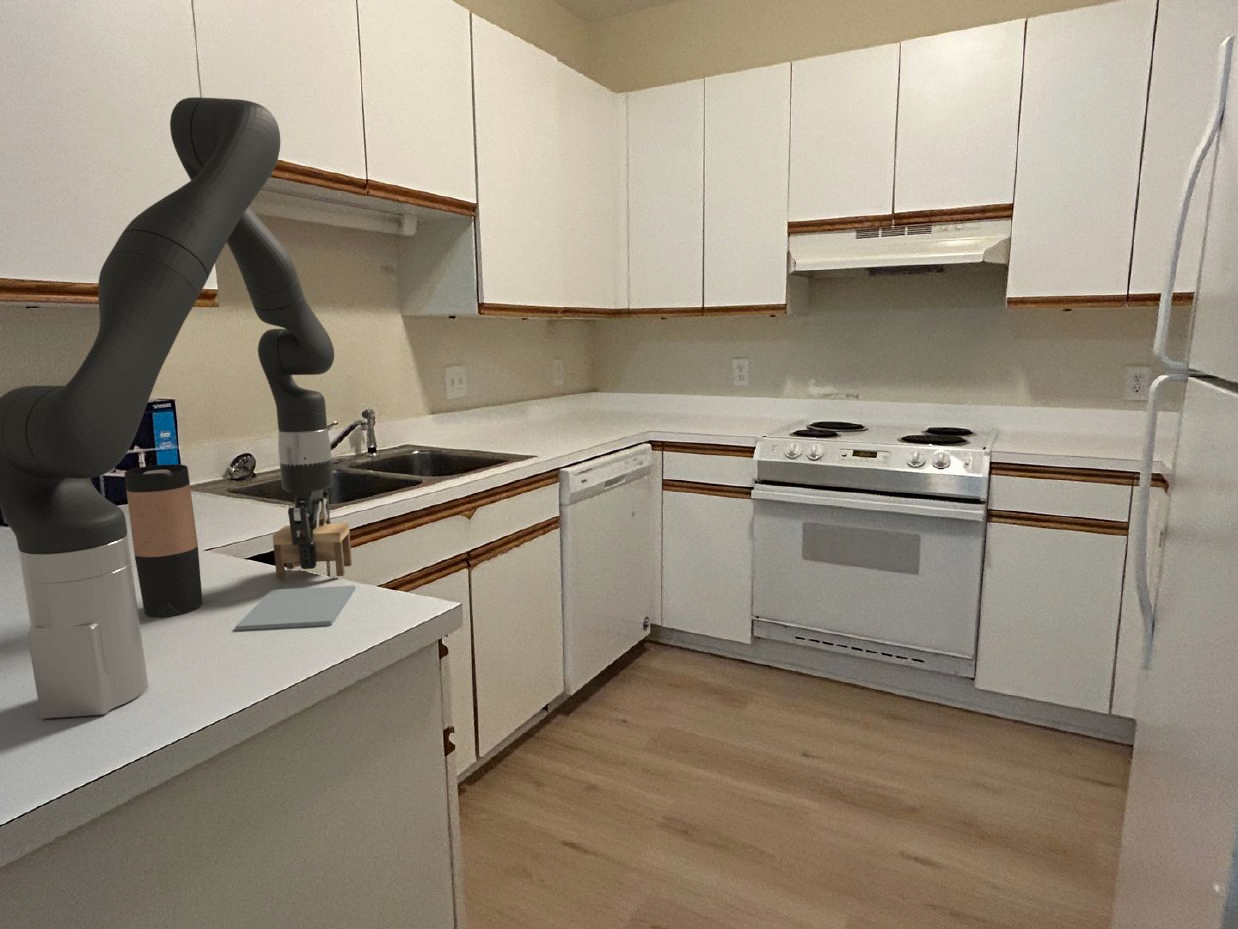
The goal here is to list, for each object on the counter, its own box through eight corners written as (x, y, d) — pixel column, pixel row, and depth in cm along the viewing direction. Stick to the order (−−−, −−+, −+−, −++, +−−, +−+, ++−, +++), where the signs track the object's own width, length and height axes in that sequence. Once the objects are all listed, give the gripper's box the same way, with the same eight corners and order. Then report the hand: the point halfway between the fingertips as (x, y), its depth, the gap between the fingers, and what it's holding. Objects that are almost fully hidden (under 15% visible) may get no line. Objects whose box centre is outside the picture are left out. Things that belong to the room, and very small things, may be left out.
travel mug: (148, 602, 110) (130, 466, 106) (208, 595, 112) (192, 462, 109) (136, 621, 103) (116, 476, 99) (200, 613, 105) (183, 471, 102)
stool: (351, 564, 125) (348, 523, 124) (343, 575, 119) (339, 532, 118) (288, 567, 124) (284, 525, 123) (276, 579, 118) (272, 535, 117)
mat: (331, 625, 100) (331, 620, 100) (236, 630, 99) (235, 626, 99) (355, 589, 114) (355, 585, 114) (272, 593, 113) (271, 589, 113)
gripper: (318, 465, 112) (327, 575, 115) (341, 450, 126) (349, 548, 129) (264, 467, 111) (275, 577, 114) (294, 451, 125) (303, 550, 128)
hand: (314, 561), depth 121 cm, fingers closed on stool, 6 cm apart
